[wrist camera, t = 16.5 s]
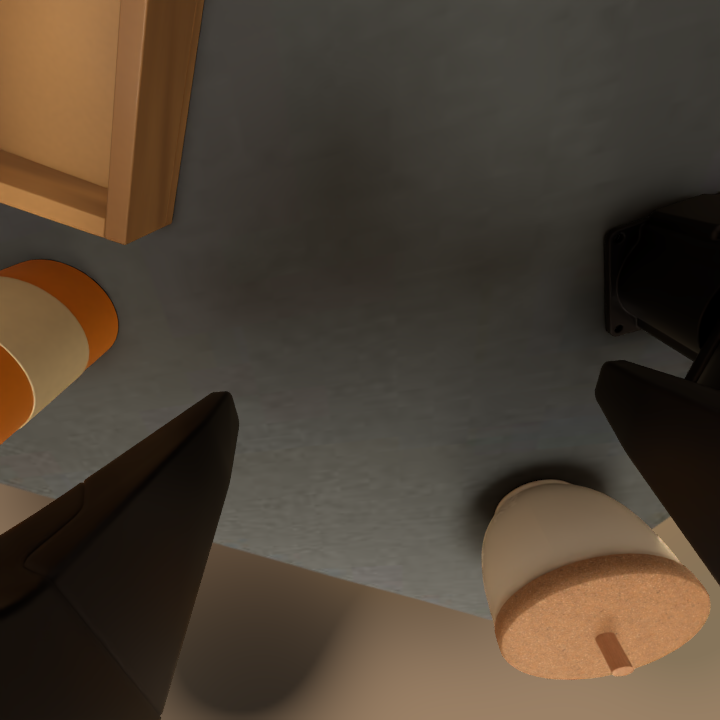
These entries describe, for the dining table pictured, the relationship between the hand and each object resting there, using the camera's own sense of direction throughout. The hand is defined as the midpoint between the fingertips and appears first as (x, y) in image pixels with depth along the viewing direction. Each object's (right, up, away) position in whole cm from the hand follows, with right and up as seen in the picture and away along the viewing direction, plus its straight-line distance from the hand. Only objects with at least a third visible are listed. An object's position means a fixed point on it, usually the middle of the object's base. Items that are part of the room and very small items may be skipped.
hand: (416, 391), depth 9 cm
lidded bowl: (+13, -11, +22) cm, 28 cm away
